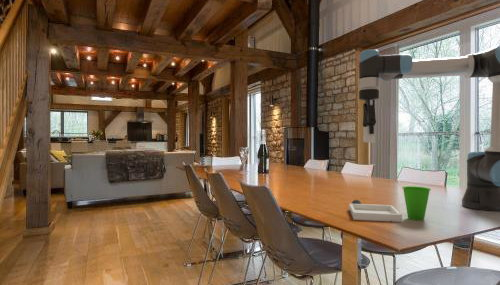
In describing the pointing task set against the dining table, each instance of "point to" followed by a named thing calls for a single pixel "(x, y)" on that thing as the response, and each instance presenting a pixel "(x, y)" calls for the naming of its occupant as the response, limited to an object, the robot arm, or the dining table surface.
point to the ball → (356, 202)
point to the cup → (416, 201)
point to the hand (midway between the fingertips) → (368, 142)
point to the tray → (375, 212)
